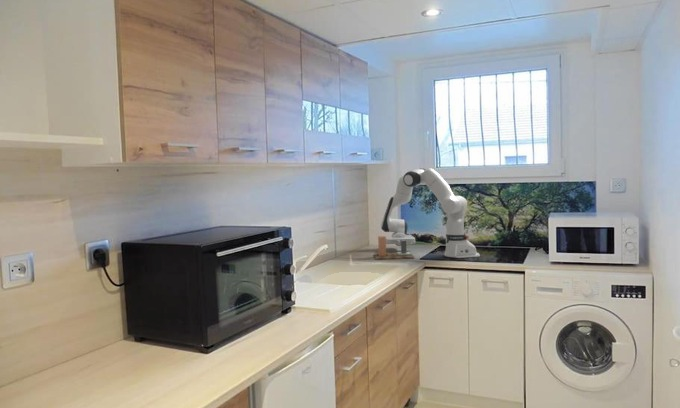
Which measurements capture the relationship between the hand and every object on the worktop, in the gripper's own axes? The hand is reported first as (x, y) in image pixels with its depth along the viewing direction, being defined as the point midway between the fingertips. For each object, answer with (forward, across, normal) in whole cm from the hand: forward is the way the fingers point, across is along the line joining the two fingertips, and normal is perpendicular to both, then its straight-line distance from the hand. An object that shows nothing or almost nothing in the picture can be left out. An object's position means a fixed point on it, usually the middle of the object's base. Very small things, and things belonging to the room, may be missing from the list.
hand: (401, 242), depth 340 cm
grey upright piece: (+12, 0, +6) cm, 13 cm away
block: (+12, -14, +7) cm, 20 cm away
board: (+14, -7, +8) cm, 18 cm away
